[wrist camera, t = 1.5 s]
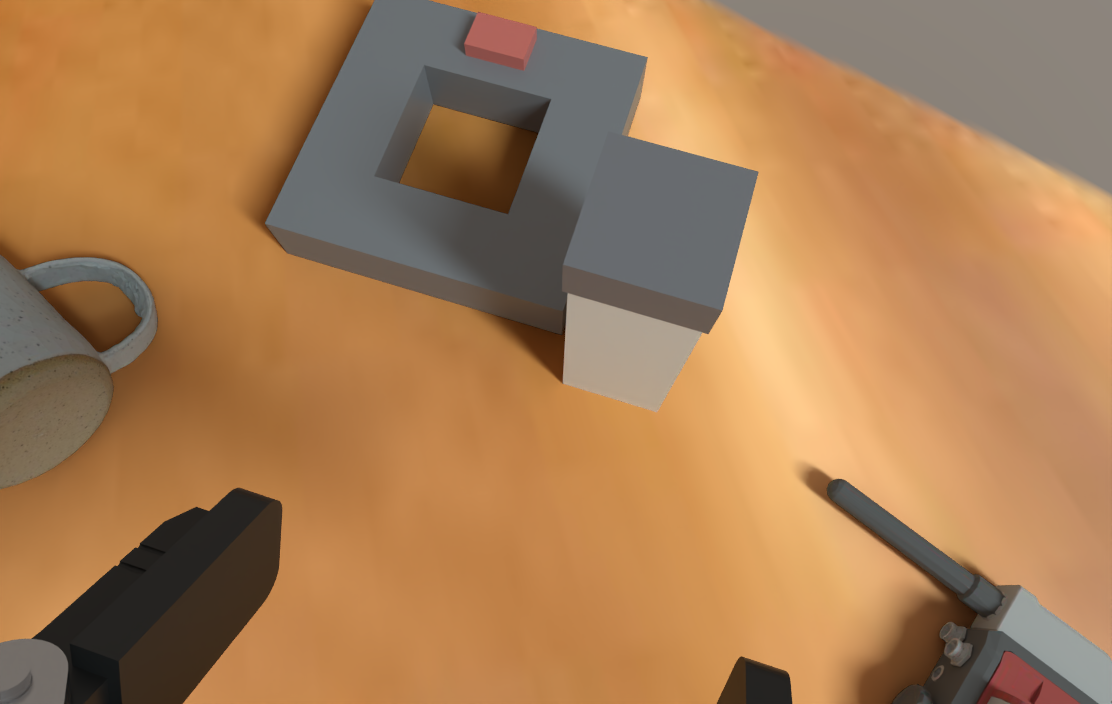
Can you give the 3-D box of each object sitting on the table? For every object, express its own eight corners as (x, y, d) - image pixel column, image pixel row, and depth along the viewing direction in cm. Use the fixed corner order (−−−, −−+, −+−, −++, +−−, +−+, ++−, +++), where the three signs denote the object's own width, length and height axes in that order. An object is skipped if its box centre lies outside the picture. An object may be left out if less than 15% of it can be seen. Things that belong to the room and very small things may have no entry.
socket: (287, 253, 36) (258, 214, 32) (392, 31, 40) (377, -25, 37) (561, 334, 35) (562, 304, 31) (640, 96, 39) (649, 45, 35)
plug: (558, 385, 34) (562, 264, 22) (588, 293, 35) (608, 131, 23) (659, 416, 34) (722, 310, 21) (685, 321, 35) (758, 171, 23)
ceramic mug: (29, 516, 32) (-121, 489, 25) (-89, 403, 34) (-263, 346, 26) (210, 336, 35) (124, 265, 28) (94, 240, 36) (-17, 148, 29)
